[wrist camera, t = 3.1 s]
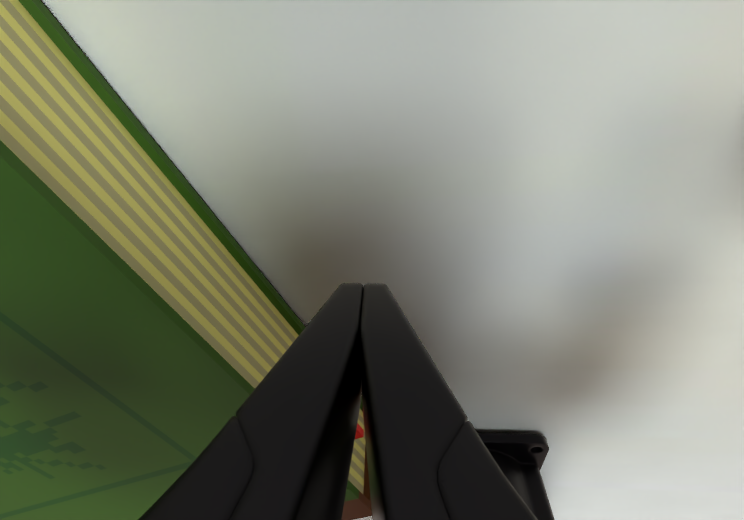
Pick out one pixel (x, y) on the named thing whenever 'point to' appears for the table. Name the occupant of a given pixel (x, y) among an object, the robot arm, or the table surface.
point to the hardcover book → (114, 298)
